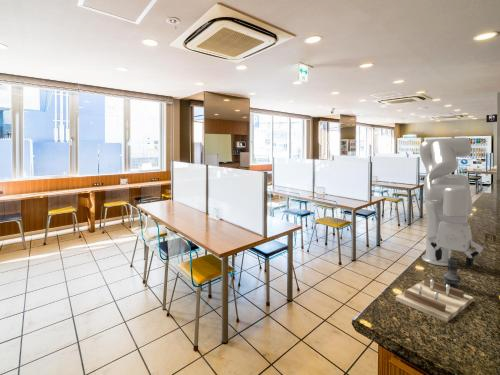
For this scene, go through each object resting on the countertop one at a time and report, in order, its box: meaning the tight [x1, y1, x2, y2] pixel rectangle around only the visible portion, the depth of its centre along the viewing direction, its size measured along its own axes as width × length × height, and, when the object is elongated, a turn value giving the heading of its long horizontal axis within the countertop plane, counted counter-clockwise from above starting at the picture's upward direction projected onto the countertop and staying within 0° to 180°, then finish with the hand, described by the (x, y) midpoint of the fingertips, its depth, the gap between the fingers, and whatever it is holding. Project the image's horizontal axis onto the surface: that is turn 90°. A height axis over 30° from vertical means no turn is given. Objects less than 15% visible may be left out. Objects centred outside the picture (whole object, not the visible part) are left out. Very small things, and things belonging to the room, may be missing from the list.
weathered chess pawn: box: [442, 255, 462, 290], centre depth 104 cm, size 6×6×12 cm
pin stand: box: [395, 278, 474, 323], centre depth 95 cm, size 20×16×6 cm
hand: (453, 263), depth 103 cm, fingers open, 9 cm apart
